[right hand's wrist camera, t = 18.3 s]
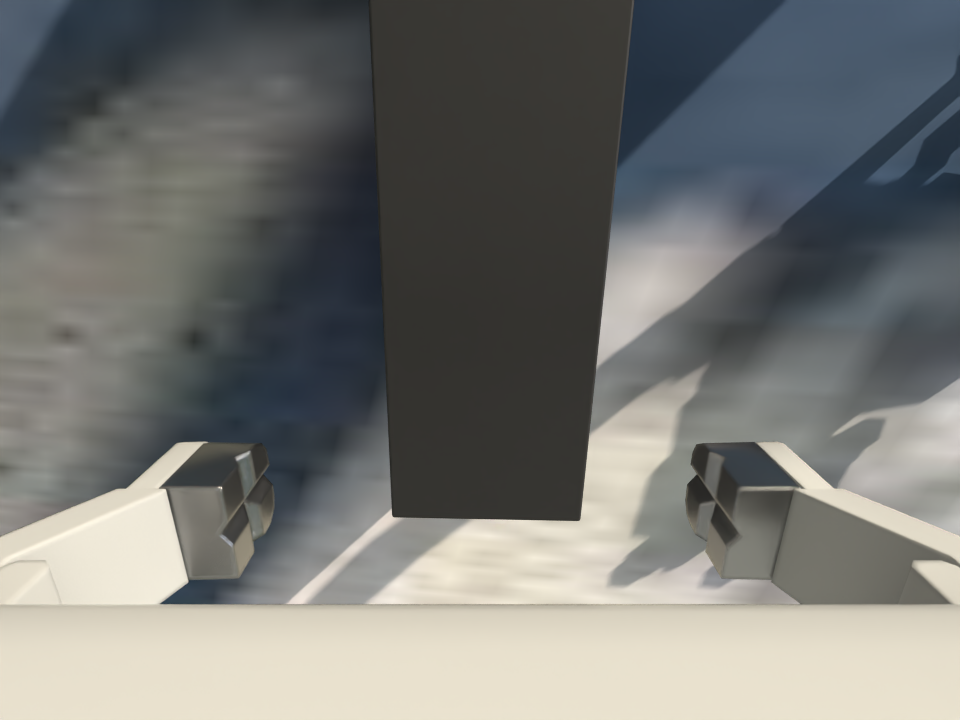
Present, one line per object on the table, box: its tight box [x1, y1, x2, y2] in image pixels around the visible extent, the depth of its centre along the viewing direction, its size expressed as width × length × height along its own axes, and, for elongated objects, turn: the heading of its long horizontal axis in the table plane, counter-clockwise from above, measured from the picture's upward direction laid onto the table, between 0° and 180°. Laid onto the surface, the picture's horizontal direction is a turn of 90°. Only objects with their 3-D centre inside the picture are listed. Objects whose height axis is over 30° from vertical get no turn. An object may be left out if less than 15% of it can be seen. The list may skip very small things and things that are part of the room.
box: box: [369, 0, 634, 521], centre depth 18 cm, size 20×6×12 cm, turn 179°
